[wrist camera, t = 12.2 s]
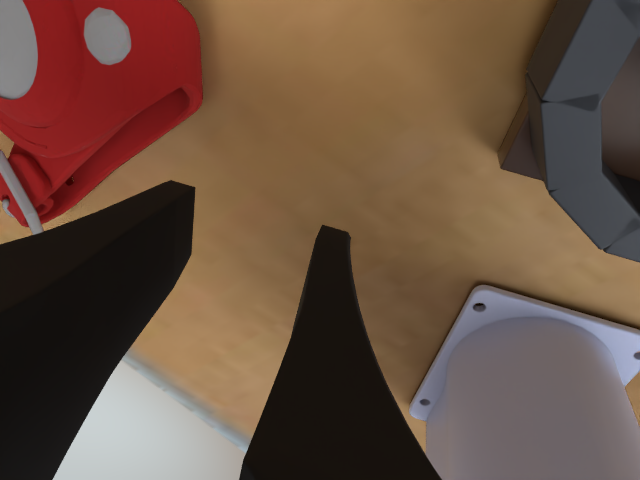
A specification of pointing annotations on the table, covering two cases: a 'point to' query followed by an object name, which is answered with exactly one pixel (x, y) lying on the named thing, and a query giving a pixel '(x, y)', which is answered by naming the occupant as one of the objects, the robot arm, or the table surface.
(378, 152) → the table surface
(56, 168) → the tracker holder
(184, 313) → the table surface
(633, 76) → the brown peg stand
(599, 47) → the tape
